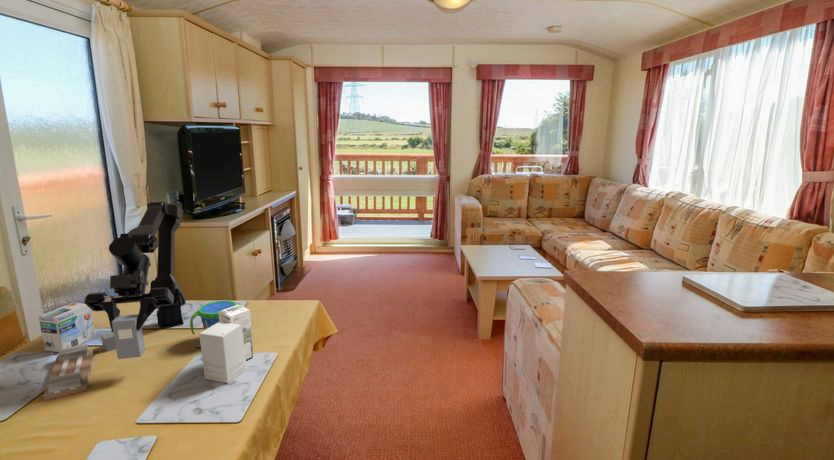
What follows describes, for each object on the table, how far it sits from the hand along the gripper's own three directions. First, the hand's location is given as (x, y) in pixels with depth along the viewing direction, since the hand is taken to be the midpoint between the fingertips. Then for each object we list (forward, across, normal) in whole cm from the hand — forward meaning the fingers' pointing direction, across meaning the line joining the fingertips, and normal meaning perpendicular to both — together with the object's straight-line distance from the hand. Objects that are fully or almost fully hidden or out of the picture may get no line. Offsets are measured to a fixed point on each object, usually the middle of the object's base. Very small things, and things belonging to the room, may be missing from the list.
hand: (125, 330), depth 110 cm
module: (+4, 0, +6) cm, 7 cm away
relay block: (-5, -11, +23) cm, 26 cm away
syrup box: (+7, +25, +12) cm, 28 cm away
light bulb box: (-8, -24, +27) cm, 37 cm away
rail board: (+5, -16, +13) cm, 21 cm away
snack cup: (-3, +18, +22) cm, 28 cm away
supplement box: (+12, +23, +6) cm, 26 cm away
